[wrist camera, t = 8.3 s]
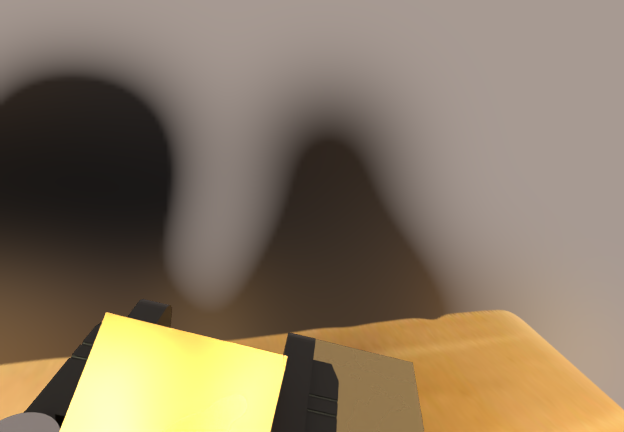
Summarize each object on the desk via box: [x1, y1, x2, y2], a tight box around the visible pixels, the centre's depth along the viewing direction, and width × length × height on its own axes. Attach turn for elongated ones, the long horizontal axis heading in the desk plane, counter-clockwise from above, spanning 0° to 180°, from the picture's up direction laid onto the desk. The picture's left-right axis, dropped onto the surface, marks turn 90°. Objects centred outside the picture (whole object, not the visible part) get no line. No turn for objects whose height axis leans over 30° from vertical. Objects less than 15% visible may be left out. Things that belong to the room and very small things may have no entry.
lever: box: [60, 313, 288, 432], centre depth 17 cm, size 3×3×22 cm
